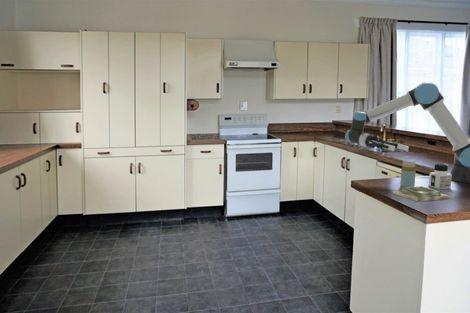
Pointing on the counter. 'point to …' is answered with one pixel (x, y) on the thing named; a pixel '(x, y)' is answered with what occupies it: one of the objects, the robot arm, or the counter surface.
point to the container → (440, 177)
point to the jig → (420, 193)
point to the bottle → (408, 174)
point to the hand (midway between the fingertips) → (401, 148)
